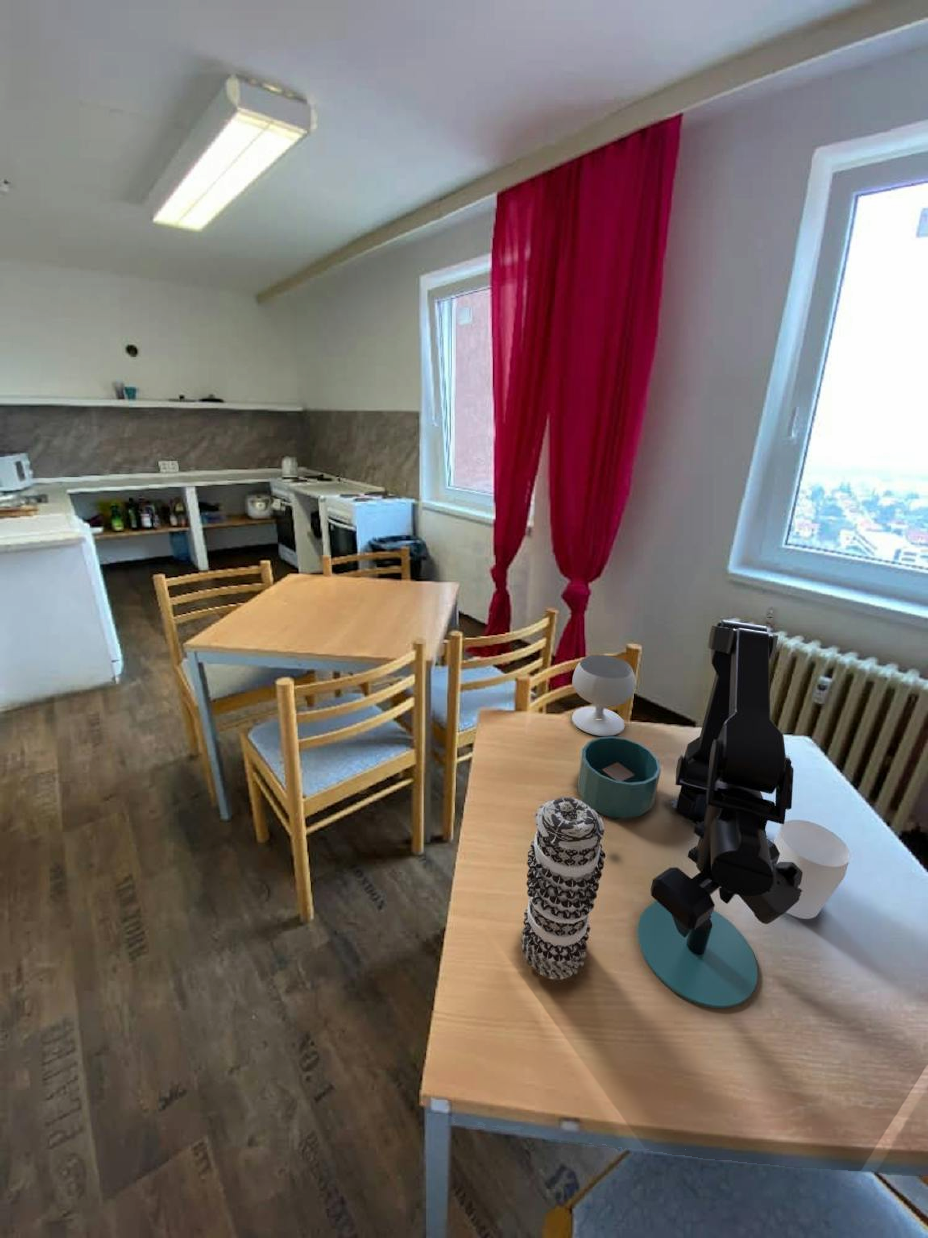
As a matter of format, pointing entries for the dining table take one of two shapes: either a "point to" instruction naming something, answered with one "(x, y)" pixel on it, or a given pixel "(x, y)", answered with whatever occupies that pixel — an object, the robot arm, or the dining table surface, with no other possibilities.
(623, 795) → the bin
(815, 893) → the cup
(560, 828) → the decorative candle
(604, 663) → the chalice
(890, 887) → the dining table surface
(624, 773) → the block
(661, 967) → the bin lid
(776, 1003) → the dining table surface
